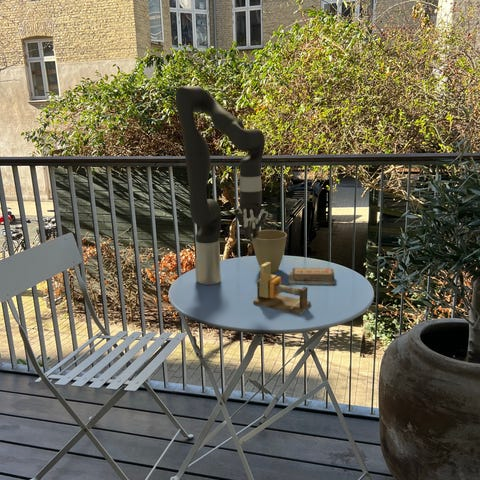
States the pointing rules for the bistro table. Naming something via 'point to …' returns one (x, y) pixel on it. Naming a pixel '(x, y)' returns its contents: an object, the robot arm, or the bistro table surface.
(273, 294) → the orange upright board
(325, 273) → the packaged product
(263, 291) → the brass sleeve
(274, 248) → the plant pot
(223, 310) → the bistro table surface
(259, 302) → the pipe board
